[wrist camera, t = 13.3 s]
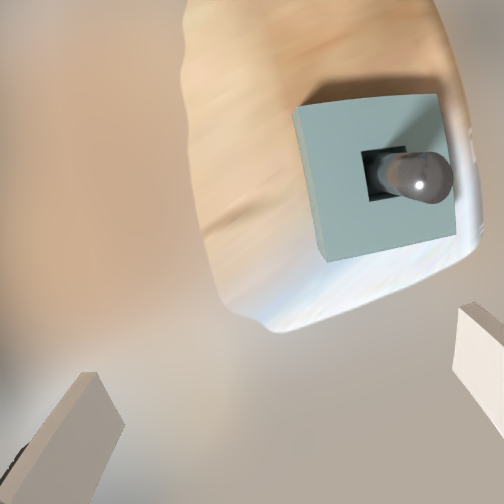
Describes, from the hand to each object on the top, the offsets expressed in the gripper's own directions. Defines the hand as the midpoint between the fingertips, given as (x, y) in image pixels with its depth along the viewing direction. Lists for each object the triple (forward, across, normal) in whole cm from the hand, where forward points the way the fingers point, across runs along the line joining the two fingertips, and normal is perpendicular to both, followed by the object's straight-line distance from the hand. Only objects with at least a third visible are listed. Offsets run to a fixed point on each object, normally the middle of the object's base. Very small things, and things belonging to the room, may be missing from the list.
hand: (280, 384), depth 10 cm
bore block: (+29, +13, +4) cm, 32 cm away
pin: (+28, +13, +4) cm, 31 cm away
